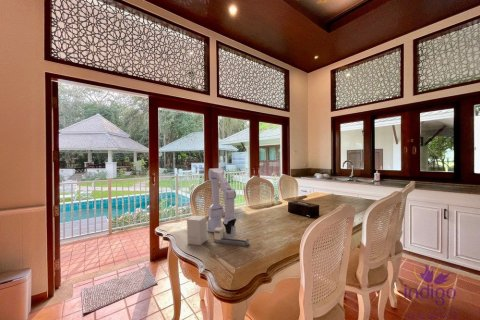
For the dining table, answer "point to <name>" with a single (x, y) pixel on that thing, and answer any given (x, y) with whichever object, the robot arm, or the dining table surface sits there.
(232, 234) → the block
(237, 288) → the dining table surface
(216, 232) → the beige rectangular block
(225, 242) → the rail
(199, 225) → the supplement box
